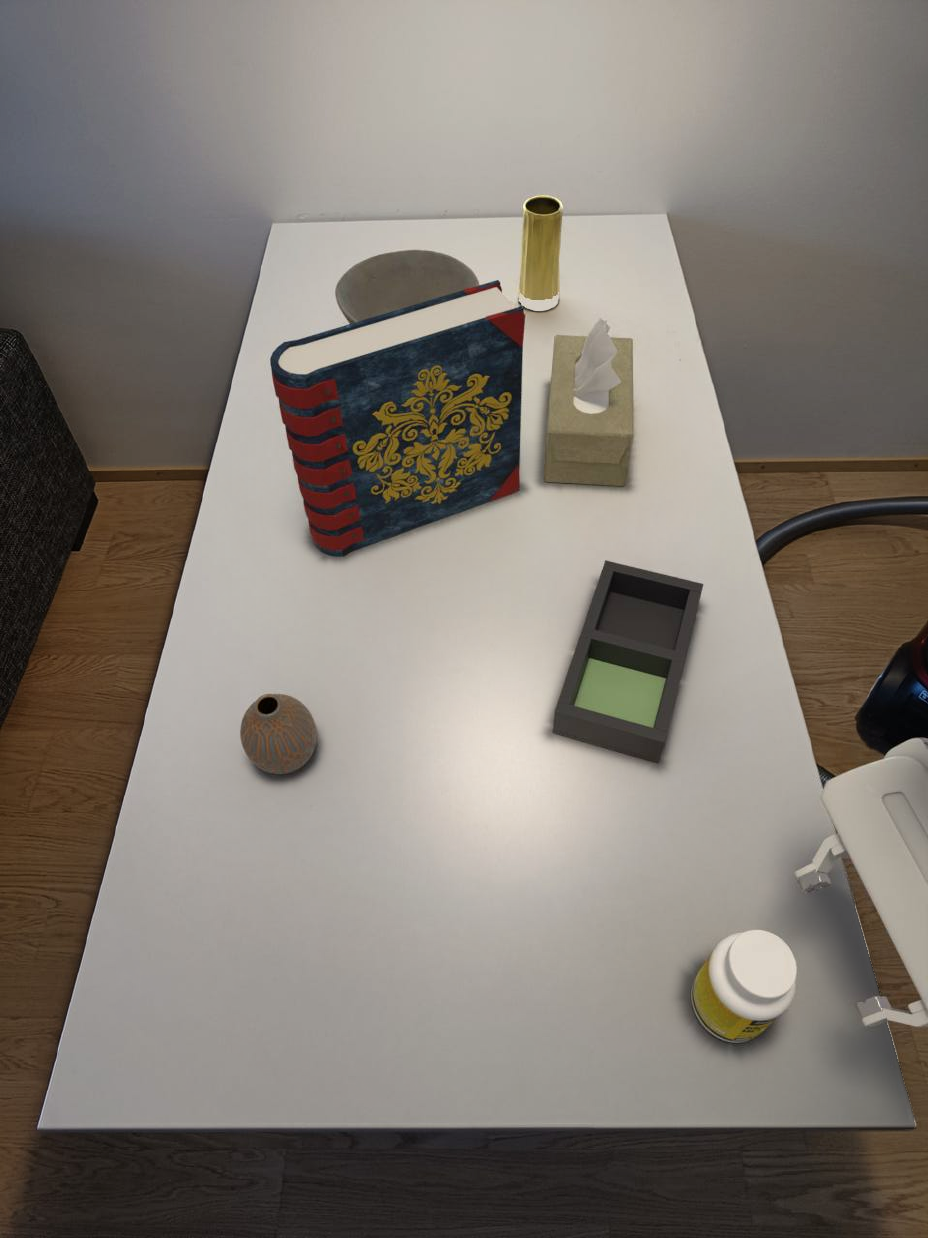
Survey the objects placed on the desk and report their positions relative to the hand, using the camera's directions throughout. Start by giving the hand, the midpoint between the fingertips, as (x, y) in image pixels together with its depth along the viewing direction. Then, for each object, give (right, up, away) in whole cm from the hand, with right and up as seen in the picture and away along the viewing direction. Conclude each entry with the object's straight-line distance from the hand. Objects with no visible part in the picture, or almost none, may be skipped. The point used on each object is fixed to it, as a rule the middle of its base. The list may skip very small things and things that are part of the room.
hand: (830, 946), depth 63 cm
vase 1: (-43, +10, +23) cm, 50 cm away
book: (-32, +36, +42) cm, 64 cm away
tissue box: (-11, +47, +49) cm, 68 cm away
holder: (-9, +18, +27) cm, 34 cm away
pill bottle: (-5, -7, +8) cm, 12 cm away
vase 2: (-15, +70, +66) cm, 98 cm away
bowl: (-33, +60, +60) cm, 91 cm away
